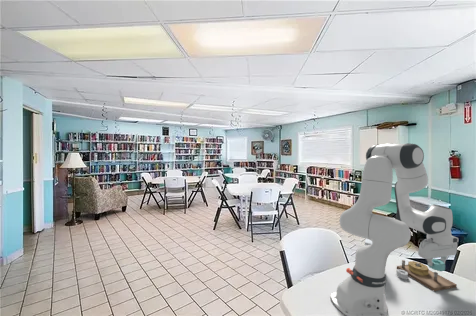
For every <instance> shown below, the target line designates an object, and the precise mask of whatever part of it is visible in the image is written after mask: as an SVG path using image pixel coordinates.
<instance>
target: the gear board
mask: <svg viewBox="0 0 476 316" xmlns="http://www.w3.org/2000/svg"><path fill="white" fill-rule="evenodd" d="M407 262H408V263H407V264H406V260H405V259H401V265H396V270H398V269H400V270H404V271H406V272H407V273H408V277H410V278H412V279H413V280H415V281H416V282H418V283H420V284H421V285H424V286H425V287H427V288H428V289H430V290H431V291H433V292H436V291H439V292H440V291H443V290H450V289H454V288H457V286H458V285H457V283H455V282H453V281H452V280H449V279H448V278H445V277H444V276H442V275H440V274H439V273H438V272H436V271H433V270H430V269H429V266H428V265H426V264H423V263H422V262H419V261H415V260H410V261H407Z"/></svg>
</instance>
